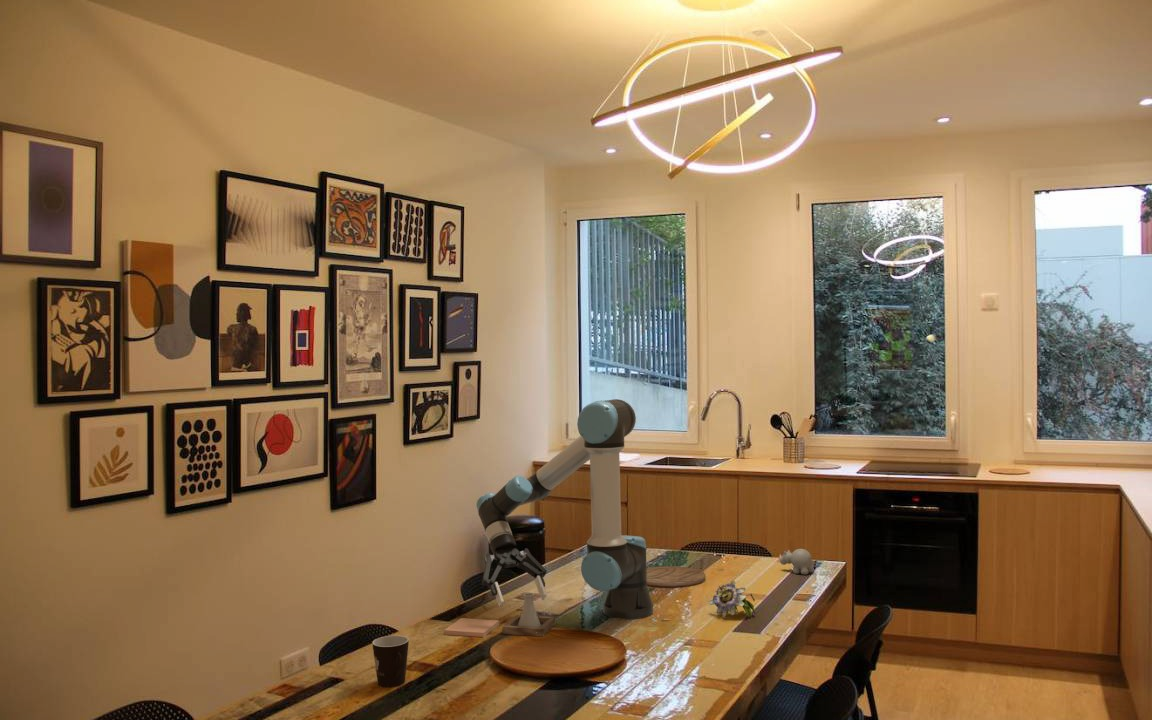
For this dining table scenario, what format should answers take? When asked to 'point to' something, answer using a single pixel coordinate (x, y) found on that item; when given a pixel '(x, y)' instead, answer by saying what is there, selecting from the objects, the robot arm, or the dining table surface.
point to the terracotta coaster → (471, 627)
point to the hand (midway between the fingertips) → (523, 600)
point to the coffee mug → (390, 660)
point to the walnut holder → (530, 631)
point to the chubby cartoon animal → (798, 561)
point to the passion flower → (731, 600)
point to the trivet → (674, 577)
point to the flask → (529, 612)
